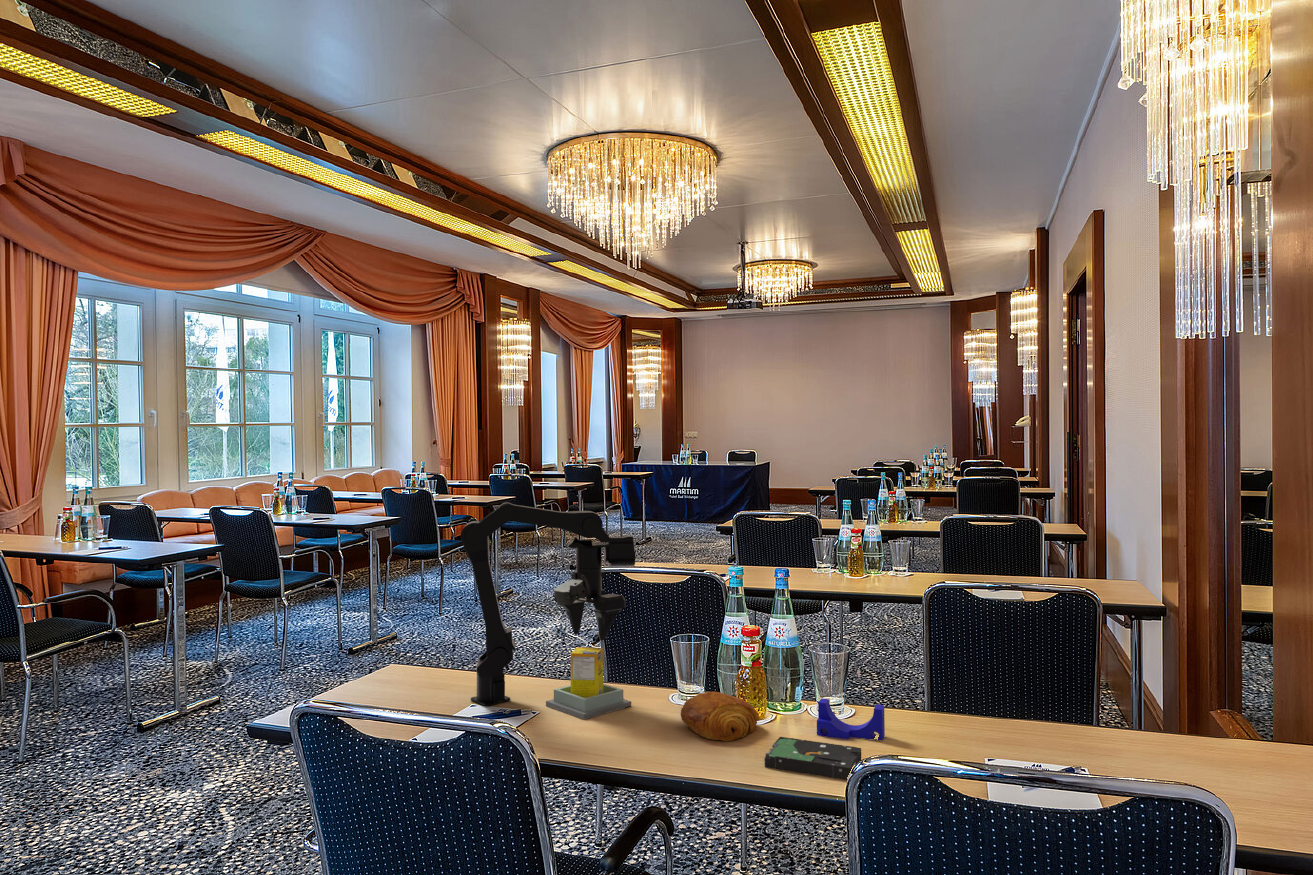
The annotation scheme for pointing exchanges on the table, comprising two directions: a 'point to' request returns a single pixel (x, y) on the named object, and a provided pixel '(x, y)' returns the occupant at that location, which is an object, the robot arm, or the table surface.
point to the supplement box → (587, 671)
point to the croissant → (719, 716)
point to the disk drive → (812, 757)
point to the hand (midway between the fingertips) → (589, 637)
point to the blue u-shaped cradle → (838, 729)
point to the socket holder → (588, 702)
